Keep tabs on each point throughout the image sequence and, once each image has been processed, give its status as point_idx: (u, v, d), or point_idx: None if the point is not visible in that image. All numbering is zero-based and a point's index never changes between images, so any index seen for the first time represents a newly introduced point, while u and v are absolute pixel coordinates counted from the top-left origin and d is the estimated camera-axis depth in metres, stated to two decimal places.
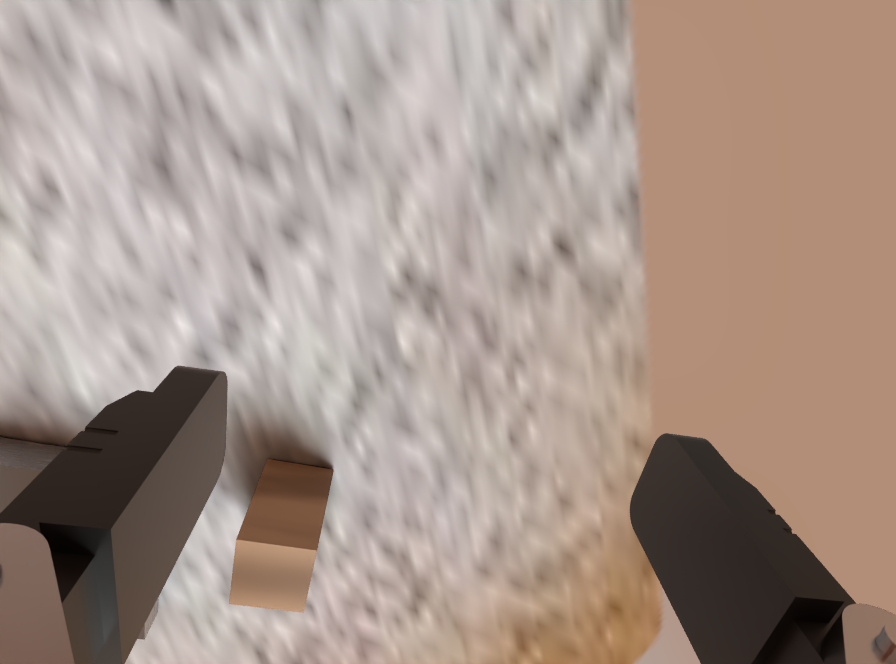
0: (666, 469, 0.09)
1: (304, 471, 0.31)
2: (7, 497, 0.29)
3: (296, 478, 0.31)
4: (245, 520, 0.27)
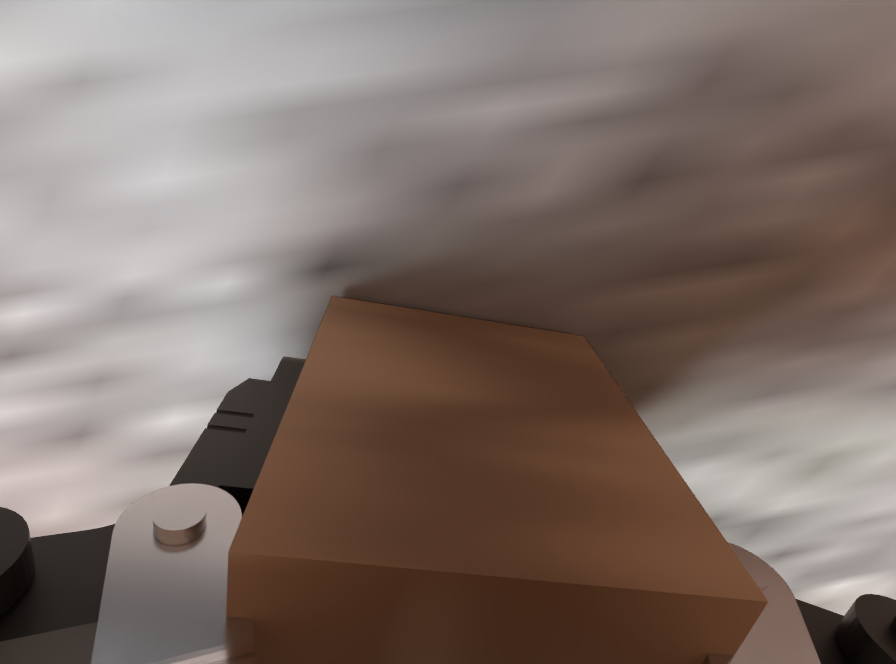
0: None
1: None
2: None
3: None
4: None
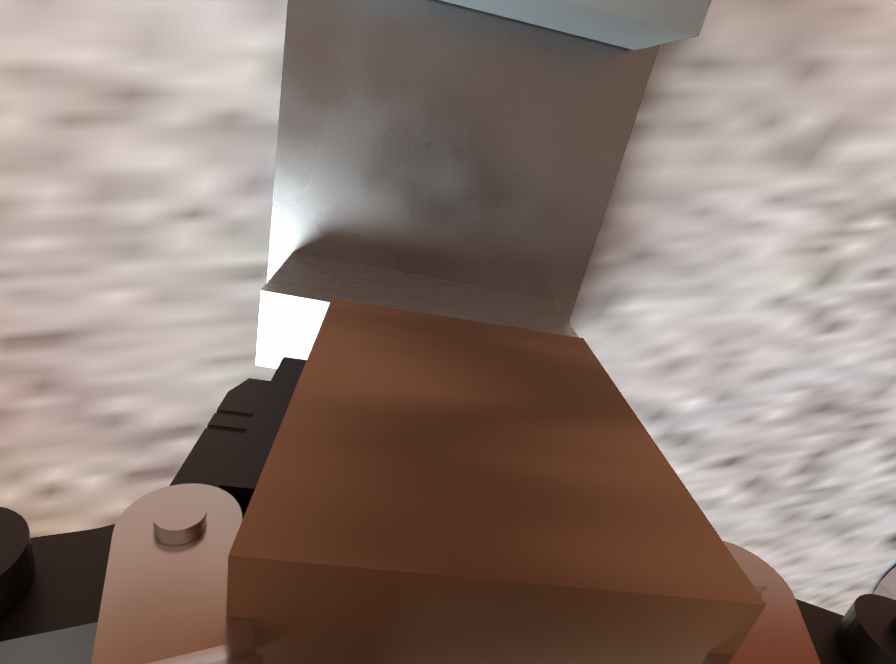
0: None
1: None
2: (542, 237, 0.23)
3: None
4: None
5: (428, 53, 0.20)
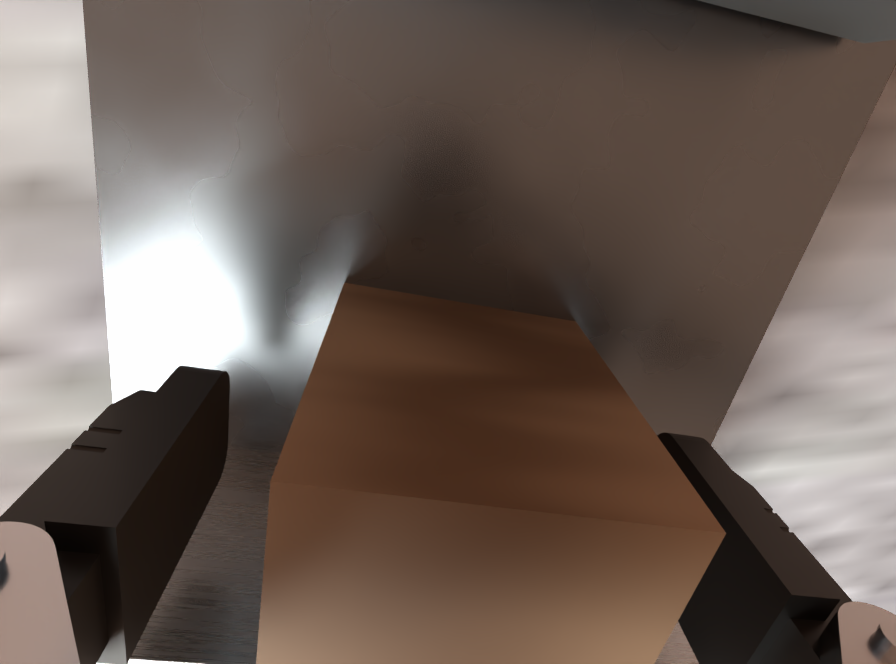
0: None
1: None
2: (634, 399, 0.12)
3: None
4: None
5: (411, 57, 0.09)
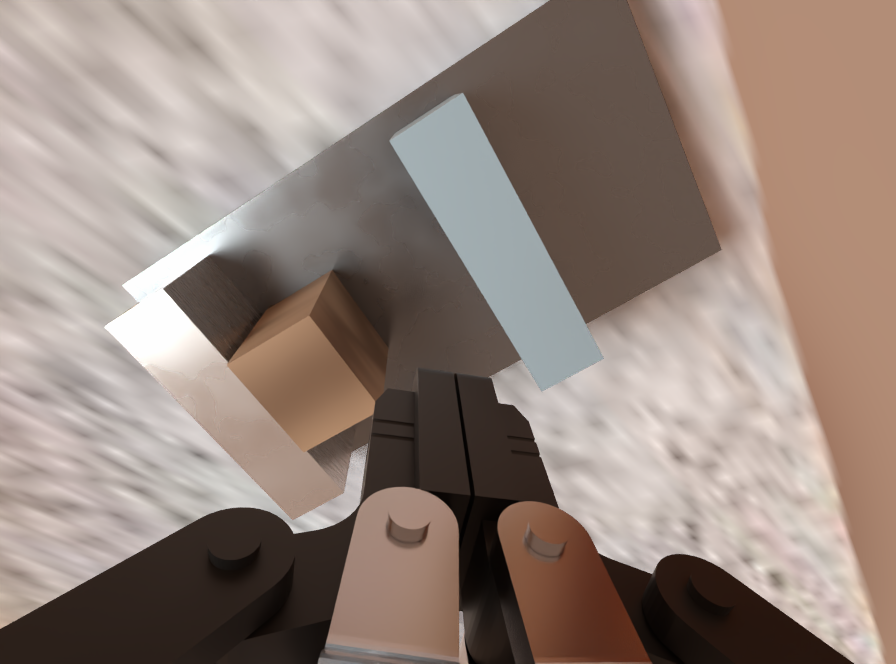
0: None
1: None
2: None
3: None
4: None
5: (413, 235, 0.25)
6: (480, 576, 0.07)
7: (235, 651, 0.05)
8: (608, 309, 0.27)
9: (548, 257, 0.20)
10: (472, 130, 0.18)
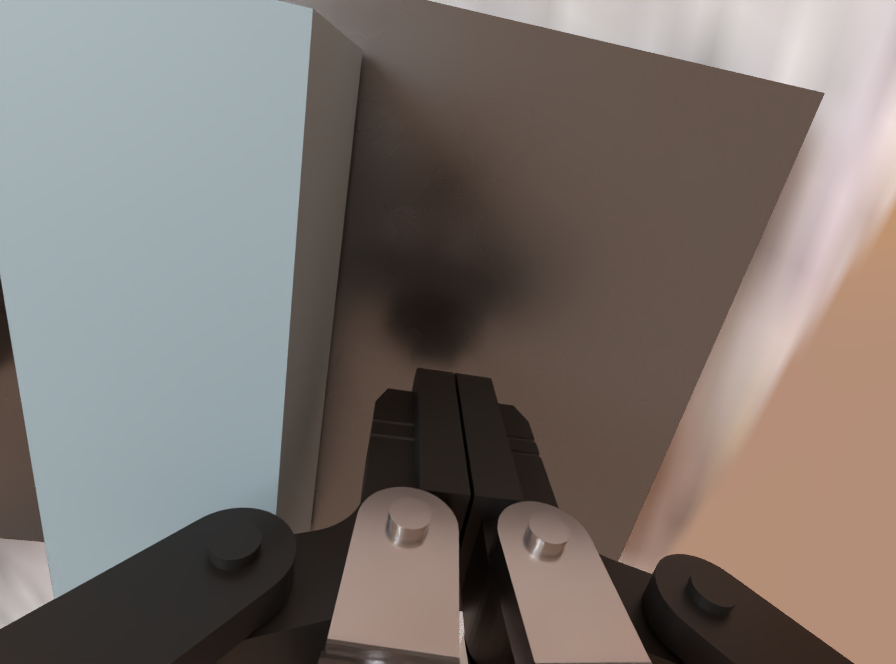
0: None
1: None
2: None
3: None
4: None
5: None
6: (480, 576, 0.07)
7: (235, 651, 0.05)
8: None
9: None
10: (270, 141, 0.05)
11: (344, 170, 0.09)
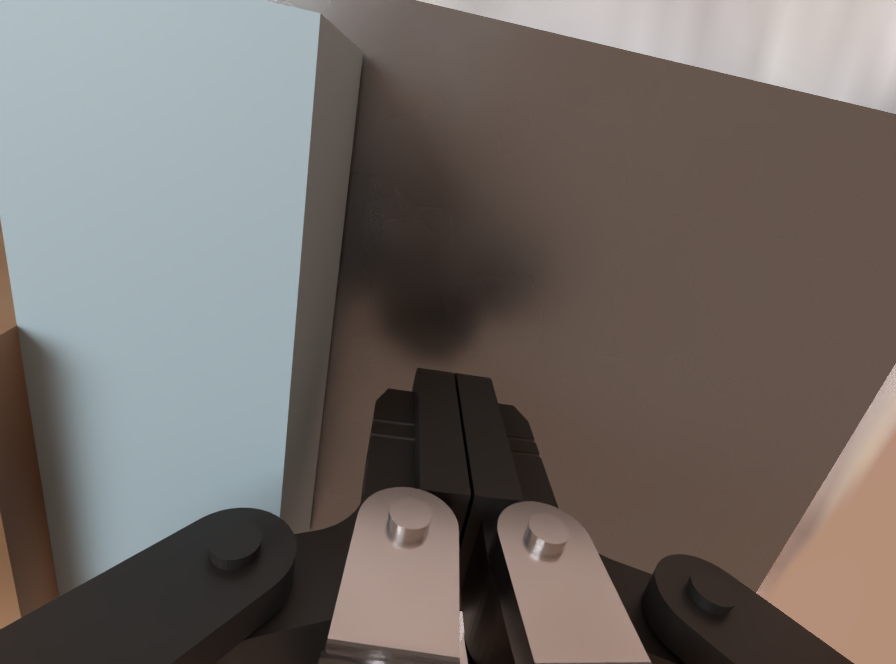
0: None
1: None
2: None
3: None
4: None
5: (400, 284, 0.11)
6: (480, 576, 0.07)
7: (235, 651, 0.05)
8: None
9: None
10: (276, 143, 0.05)
11: (345, 171, 0.09)
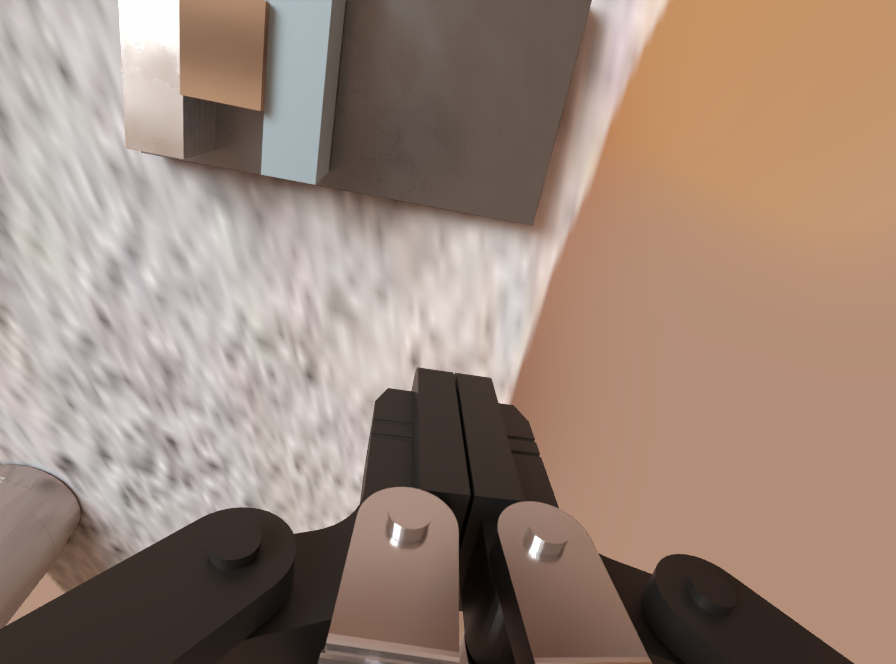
0: None
1: None
2: (260, 136, 0.33)
3: None
4: None
5: (367, 47, 0.31)
6: (480, 576, 0.07)
7: (235, 651, 0.05)
8: (446, 207, 0.36)
9: (323, 83, 0.27)
10: None
11: None
